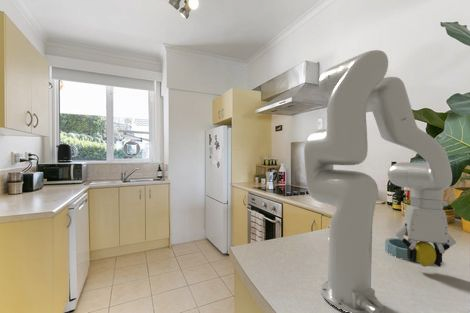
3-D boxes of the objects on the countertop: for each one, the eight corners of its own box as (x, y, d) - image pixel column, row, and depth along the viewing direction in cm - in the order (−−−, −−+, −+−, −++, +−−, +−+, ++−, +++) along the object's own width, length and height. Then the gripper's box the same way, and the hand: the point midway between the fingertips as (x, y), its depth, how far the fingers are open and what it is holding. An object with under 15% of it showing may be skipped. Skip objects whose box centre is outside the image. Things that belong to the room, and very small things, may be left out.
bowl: (436, 259, 77) (436, 249, 77) (409, 263, 74) (409, 253, 74) (402, 245, 89) (403, 237, 89) (378, 248, 86) (378, 239, 86)
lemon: (412, 260, 73) (413, 236, 73) (435, 266, 69) (436, 240, 69) (412, 266, 68) (413, 240, 68) (436, 273, 65) (437, 245, 65)
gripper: (452, 204, 70) (450, 262, 70) (389, 199, 75) (387, 253, 75) (469, 209, 63) (467, 273, 63) (398, 203, 68) (396, 263, 68)
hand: (423, 262), depth 69 cm, fingers closed on lemon, 5 cm apart
